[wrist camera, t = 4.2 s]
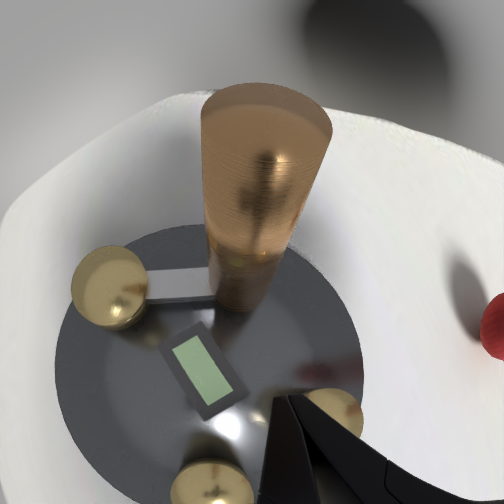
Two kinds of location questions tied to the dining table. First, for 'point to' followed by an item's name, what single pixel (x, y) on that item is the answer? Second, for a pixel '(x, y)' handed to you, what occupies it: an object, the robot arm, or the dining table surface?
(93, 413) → the tribrach plate
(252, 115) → the knob lever
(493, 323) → the onion
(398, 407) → the dining table surface
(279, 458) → the robot arm
